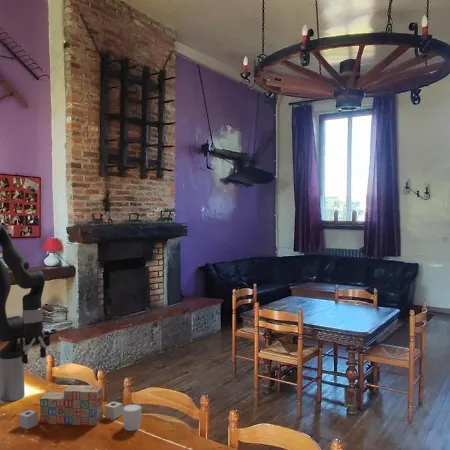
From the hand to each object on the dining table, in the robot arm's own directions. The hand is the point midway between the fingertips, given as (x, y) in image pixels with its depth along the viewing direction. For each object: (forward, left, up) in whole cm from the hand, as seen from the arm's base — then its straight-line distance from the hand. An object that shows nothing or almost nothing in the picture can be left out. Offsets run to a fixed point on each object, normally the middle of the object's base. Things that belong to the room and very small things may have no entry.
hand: (34, 360), depth 189 cm
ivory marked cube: (+37, +5, -17) cm, 41 cm away
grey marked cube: (+15, -15, -17) cm, 27 cm away
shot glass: (+49, +1, -17) cm, 52 cm away
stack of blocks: (+26, -5, -18) cm, 32 cm away
